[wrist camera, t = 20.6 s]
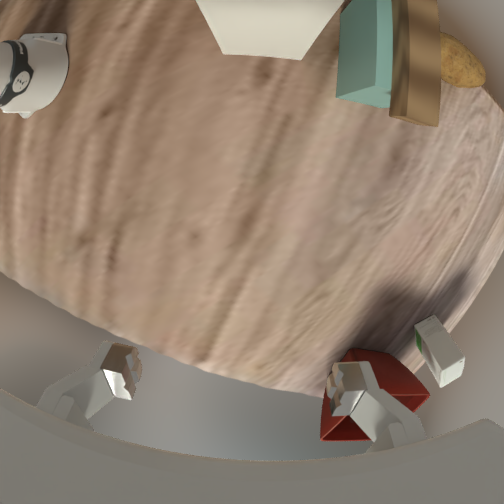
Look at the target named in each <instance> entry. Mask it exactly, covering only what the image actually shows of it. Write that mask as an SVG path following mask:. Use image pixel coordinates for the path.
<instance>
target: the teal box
mask: <svg viewBox="0 0 504 504" xmlns="http://www.w3.org/2000/svg"><path fill="white" fill-rule="evenodd" d="M392 59H393V25H392V2H391V0H352V1H351V2H350V3H349V5H348V6H347V7H346V8H345V9H344V11H343V12H342V13H341V14H340V41H339V60H338V76H337V89H336V98H340V99H345V100H349V101H354V102H358V103H363V104H367V105H371V106H375V107H379V108H388V107H390V98H391V83H392Z"/></svg>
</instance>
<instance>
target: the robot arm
mask: <svg viewBox="0 0 504 504" xmlns="http://www.w3.org/2000/svg"><path fill="white" fill-rule="evenodd" d="M66 39H67V36H66V34H63V33H36V34H24V35H23V36H22V37H21V38H20V39H19V40H8V41H3V42H0V108H1V109H2V110H3V112H4V113H19V114H20V115H21V116H22V117H23V118H29V117H30V116H31V115H32V114H33V113H34V112H35V111H37V110H39V109H42V108H44V107H46V106H47V105H48V104H50V103H51V102H52V101H53V100H54V98H55V97H56V96H57V94H58V93H59V91H60V90H61V88H62V86H63V83H64V81H65V78H66V75H67V71H68V54H67V51H66ZM138 354H139V353H138V349H137V348H136V347H133V346H128V345H123V344H119V343H114V342H110V341H106V340H105V341H103V342H102V343H101V345H100V347H99V348H98V350H97V352H96V354H95V355H94V357H93V359H92V361H91V362H90V364H89V366H87V365H85V366H84V367H82V368H80V369H78V370H77V371H75V372H73V373H71V374H70V375H68V376H66V377H64V378H63V379H61V380H59V381H57V382H55V383H53V384H52V385H50V386H48V387H47V388H46V390H45V391H44V393H43V395H42V397H41V398H40V400H39V402H38V404H37V405H36V407H34V406H32V405H30V404H28V403H26V402H24V401H22V400H20V399H18V398H16V397H15V396H13V395H11V394H9V393H8V392H6V391H4V390H2V389H1V388H0V504H504V429H503V428H502V427H501V426H499V425H498V424H496V423H495V422H493V421H491V420H489V419H481V420H479V421H476V422H474V423H471V424H469V425H467V426H464V427H461V428H459V429H456V430H453V431H450V432H448V433H445V434H442V435H439V436H436V437H432V438H429V439H427V437H426V434H425V432H424V429H423V426H422V424H421V421H420V419H419V417H418V416H417V415H416V414H414V413H413V412H412V411H410V410H409V409H408V408H407V407H405V406H404V405H403V404H401V403H400V402H399V401H398V400H396V399H395V398H394V397H392V396H391V395H390V394H389V393H387V392H386V391H385V390H384V389H380V388H379V386H378V383H377V380H376V378H375V375H374V372H373V370H372V367H371V365H370V363H369V362H368V361H361V362H338V363H334V364H333V367H332V372H333V373H332V374H330V375H329V377H328V379H327V385H326V390H327V396H328V397H329V398H330V399H331V401H330V403H329V406H330V410H331V415H332V416H346V415H350V417H351V418H352V419H353V420H354V421H355V422H356V423H357V424H358V426H359V427H360V428H361V429H362V430H363V431H364V432H365V433H366V434H367V435H368V437H369V438H370V439H371V440H372V441H373V442H374V443H373V444H372V445H371V446H370V447H369V448H368V450H367V451H366V452H365V454H360V455H353V456H345V457H338V458H337V457H336V458H327V459H316V460H299V461H250V460H232V459H221V458H210V457H202V456H194V455H188V454H181V453H176V452H170V451H165V450H160V449H155V448H150V447H146V446H142V445H138V444H134V443H130V442H126V441H123V440H119V439H116V438H113V437H109V436H106V435H103V434H100V433H97V432H94V429H93V427H92V426H91V424H90V423H89V422H88V420H87V419H89V418H90V417H91V416H92V415H93V414H95V413H96V412H97V411H98V410H99V409H101V408H102V407H103V406H104V405H105V404H107V403H108V402H109V401H110V400H112V399H113V398H114V396H115V397H119V398H124V399H128V400H132V399H133V396H134V393H135V391H136V386H135V383H137V382H138V381H139V380H140V377H141V373H142V364H141V360H139V358H138V357H137V356H138Z"/></svg>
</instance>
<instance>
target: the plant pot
mask: <svg viewBox="0 0 504 504" xmlns="http://www.w3.org/2000/svg"><path fill="white" fill-rule="evenodd" d="M361 361H368V362H369V363H370V365H371V367H372V370H373V372H374V375H375V378H376V380H377V383H378V386H379V388H380V389H384V390H385V391H386V392H387V393H389V394H390V395H391V396H392V397H394V398H395V399H396V400H398V401H399V402H400V403H401V404H403V405H404V406H405V407H407V408H408V409H409V410H410V411H412V412H413V413H414V412H415V411H416V410H417V409H418V407H420V406H421V405H422V404H423V403H424V402H425V401H426V400H427V399H428V398H429V396H430V394H429V392H428V391H427V389H426V388H425V387H424V386H423V384H422V383H421V382H420V381H419V380H418V379H417V378H416V377H415V375H414V374H413V373H412V372H411V371H410V370H409V369H408V368H406V367H405V366H404V365H403V364H402V363H401V362H400V361H398V360H397V359H396V358H395V357H393V356H392V355H390V354H389V353H382V352H375V351H369V350H363V349H357V348H352V349H350V350H349V351H348V352H347V354H346V355H345V357H344V358H343V359H342V361H341V362H361ZM326 385H327V384H326ZM330 401H331V399H330V398H329V397H328V396H327V390H326V388H325V393H324V399H323V405H322V415H321V430H320V439H321V441H365V440H371V439H370V438H369V437H368V435H367V434H366V433H365V432H364V431H363V430H362V429H361V428H360V427H359V426H358V424H357V423H356V422H355V421H354V420H353V419H352V418H351V417H350V415H346V416H332V415H331V410H330V406H329V403H330Z"/></svg>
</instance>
